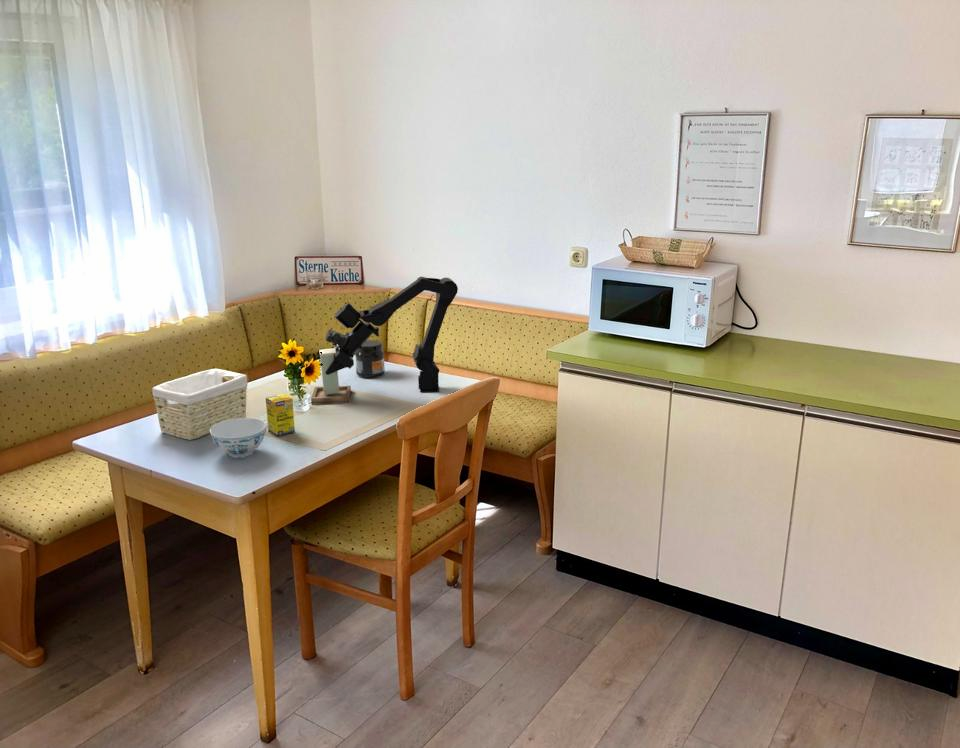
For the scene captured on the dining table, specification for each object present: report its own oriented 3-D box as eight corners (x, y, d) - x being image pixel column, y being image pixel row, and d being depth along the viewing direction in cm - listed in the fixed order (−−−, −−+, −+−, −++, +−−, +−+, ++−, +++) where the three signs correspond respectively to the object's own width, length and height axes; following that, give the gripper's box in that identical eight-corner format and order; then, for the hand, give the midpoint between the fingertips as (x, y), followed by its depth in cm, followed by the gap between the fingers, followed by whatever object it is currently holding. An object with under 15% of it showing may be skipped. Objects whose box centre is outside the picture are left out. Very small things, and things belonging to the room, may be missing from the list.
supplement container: (391, 374, 289) (389, 343, 285) (367, 381, 282) (365, 348, 278) (374, 368, 296) (372, 337, 293) (350, 374, 289) (348, 343, 286)
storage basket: (218, 409, 255) (213, 366, 250) (254, 418, 247) (249, 374, 242) (154, 433, 235) (148, 386, 231) (191, 444, 227) (185, 396, 223)
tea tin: (338, 388, 268) (335, 348, 263) (339, 392, 263) (336, 352, 259) (323, 389, 267) (319, 349, 262) (324, 394, 262) (320, 354, 257)
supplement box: (277, 437, 232) (274, 402, 229) (268, 431, 236) (264, 397, 233) (295, 432, 236) (292, 397, 232) (286, 426, 240) (283, 392, 237)
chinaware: (278, 445, 226) (275, 420, 224) (252, 466, 212) (249, 439, 210) (230, 440, 230) (227, 416, 227) (202, 461, 216) (198, 435, 213)
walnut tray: (350, 391, 272) (350, 385, 271) (348, 402, 260) (348, 397, 260) (315, 392, 271) (315, 386, 270) (311, 404, 259) (311, 398, 259)
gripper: (336, 315, 267) (306, 349, 268) (341, 328, 250) (308, 364, 251) (361, 336, 271) (331, 369, 272) (367, 350, 254) (334, 386, 255)
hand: (325, 371), depth 262 cm, fingers closed on tea tin, 5 cm apart
